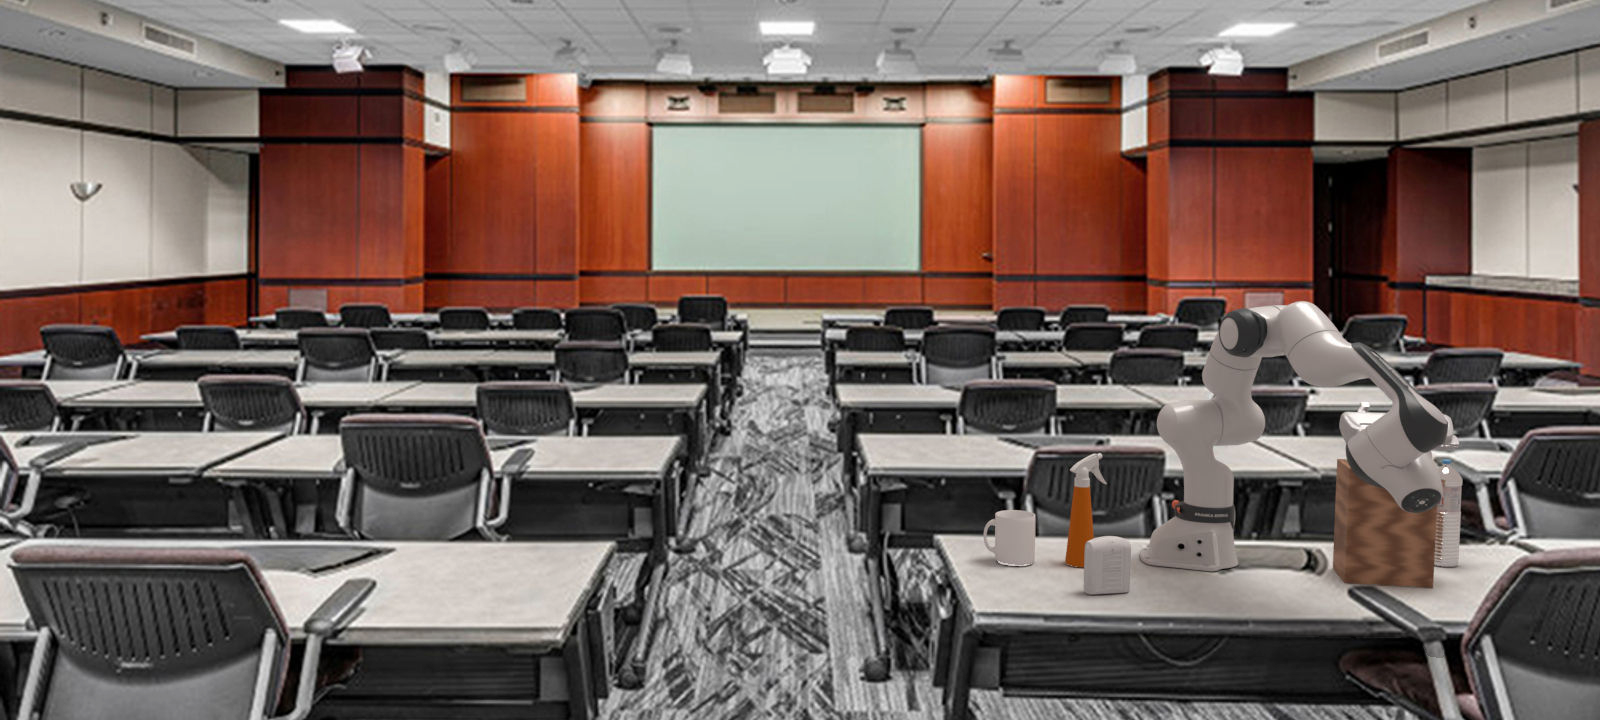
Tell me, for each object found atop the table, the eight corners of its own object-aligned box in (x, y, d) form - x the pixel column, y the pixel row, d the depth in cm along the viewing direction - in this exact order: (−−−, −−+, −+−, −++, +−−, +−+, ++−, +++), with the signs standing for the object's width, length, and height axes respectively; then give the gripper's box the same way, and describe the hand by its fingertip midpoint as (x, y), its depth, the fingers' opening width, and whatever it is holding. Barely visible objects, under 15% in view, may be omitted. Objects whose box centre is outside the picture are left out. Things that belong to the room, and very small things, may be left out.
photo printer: (1123, 587, 252) (1124, 532, 251) (1133, 593, 248) (1134, 537, 247) (1080, 591, 250) (1081, 535, 249) (1089, 596, 246) (1090, 540, 245)
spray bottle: (1114, 564, 271) (1116, 454, 269) (1078, 569, 267) (1080, 458, 264) (1094, 557, 278) (1096, 450, 275) (1058, 562, 273) (1060, 453, 270)
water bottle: (1462, 568, 267) (1468, 463, 264) (1430, 567, 268) (1435, 462, 266) (1452, 561, 273) (1457, 458, 271) (1421, 559, 275) (1426, 457, 272)
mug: (1037, 568, 268) (1038, 519, 267) (985, 567, 269) (986, 518, 268) (1031, 557, 278) (1032, 510, 277) (982, 556, 278) (982, 509, 277)
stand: (1344, 582, 255) (1349, 468, 253) (1332, 568, 267) (1337, 458, 265) (1433, 588, 251) (1438, 471, 249) (1417, 573, 263) (1422, 461, 260)
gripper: (1465, 437, 219) (1447, 394, 230) (1349, 433, 224) (1337, 391, 235) (1458, 462, 222) (1441, 418, 233) (1345, 458, 227) (1333, 415, 238)
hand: (1388, 405), depth 234 cm, fingers open, 8 cm apart
